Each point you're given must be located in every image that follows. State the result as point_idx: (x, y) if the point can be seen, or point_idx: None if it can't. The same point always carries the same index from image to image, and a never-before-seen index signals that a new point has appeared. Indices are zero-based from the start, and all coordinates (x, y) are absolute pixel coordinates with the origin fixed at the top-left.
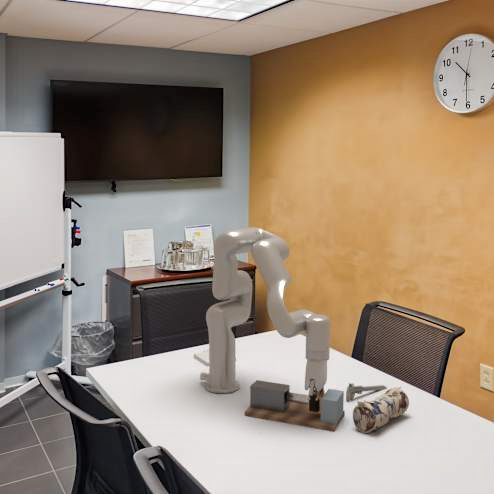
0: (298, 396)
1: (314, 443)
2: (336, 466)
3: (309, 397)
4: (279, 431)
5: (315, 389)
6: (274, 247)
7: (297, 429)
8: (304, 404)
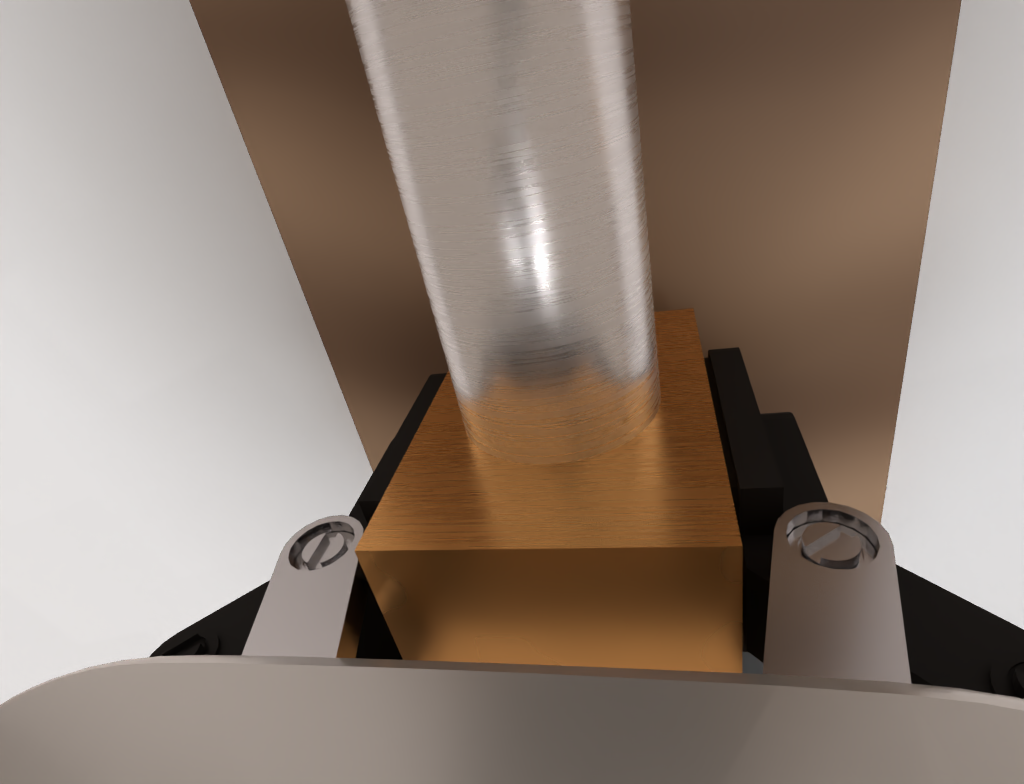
0: (409, 179)
1: (148, 493)
2: (61, 651)
3: (280, 568)
4: (19, 102)
5: (773, 596)
6: None
7: (224, 267)
8: (946, 12)
